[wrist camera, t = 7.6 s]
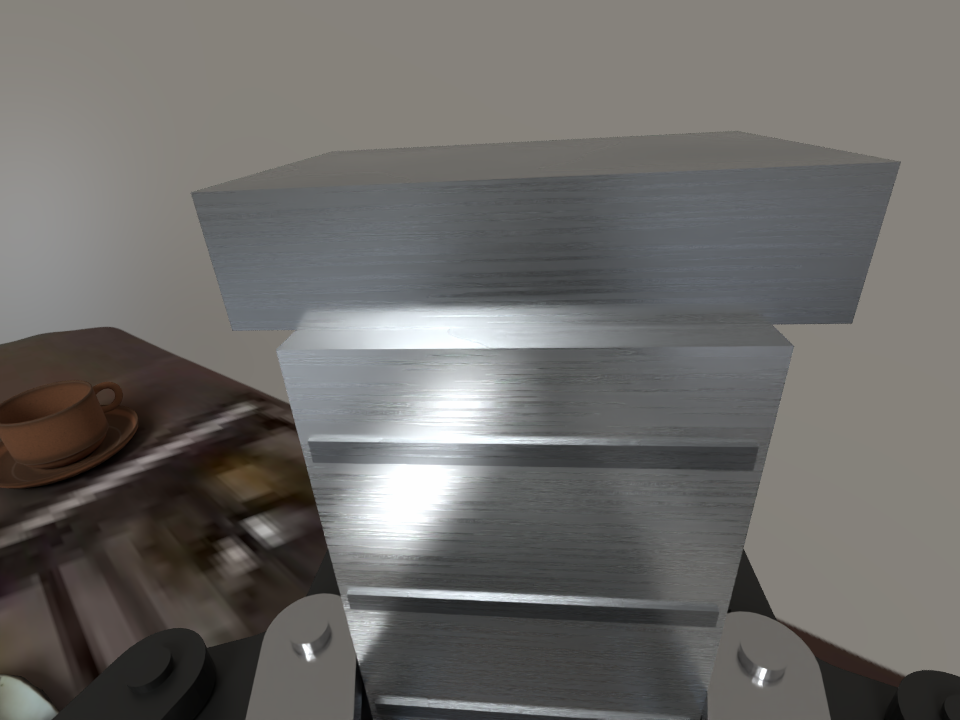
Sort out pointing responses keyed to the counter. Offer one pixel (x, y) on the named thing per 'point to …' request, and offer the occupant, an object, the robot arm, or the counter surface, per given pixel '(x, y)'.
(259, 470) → the counter surface
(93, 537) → the counter surface
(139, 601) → the counter surface
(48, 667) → the counter surface
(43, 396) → the cup and saucer
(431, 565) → the jack stand column
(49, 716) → the salad plate
